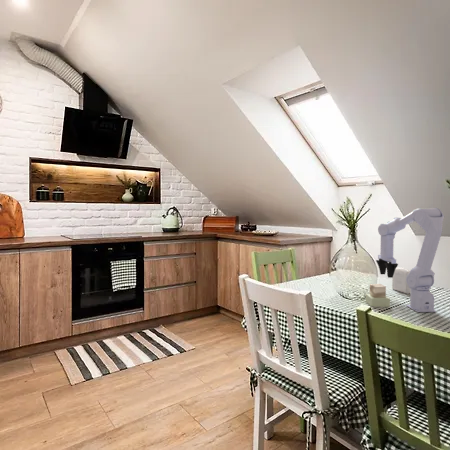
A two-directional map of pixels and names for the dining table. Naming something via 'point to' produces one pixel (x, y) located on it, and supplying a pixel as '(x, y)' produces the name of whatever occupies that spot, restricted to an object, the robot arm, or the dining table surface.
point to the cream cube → (377, 290)
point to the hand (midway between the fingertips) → (386, 275)
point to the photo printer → (400, 280)
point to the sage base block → (377, 301)
